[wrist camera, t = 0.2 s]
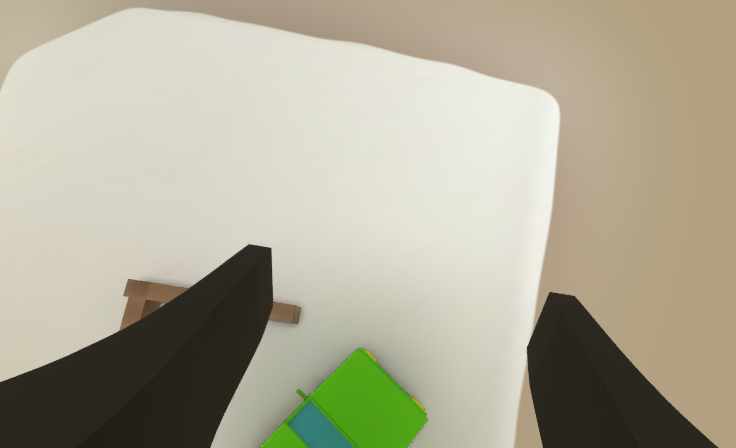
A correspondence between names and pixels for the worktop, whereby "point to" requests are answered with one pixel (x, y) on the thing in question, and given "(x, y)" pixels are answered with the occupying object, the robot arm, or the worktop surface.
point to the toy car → (353, 411)
